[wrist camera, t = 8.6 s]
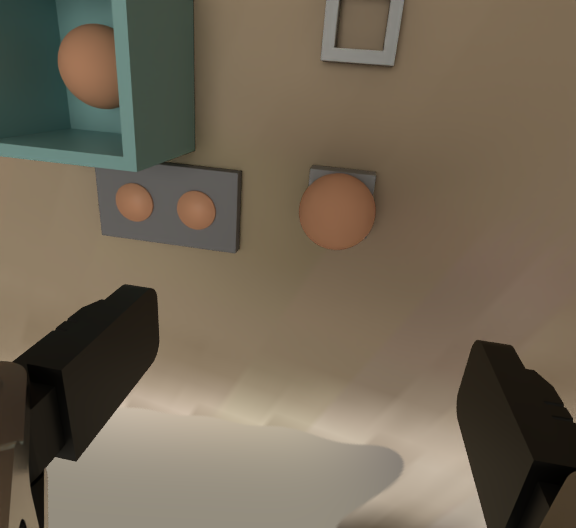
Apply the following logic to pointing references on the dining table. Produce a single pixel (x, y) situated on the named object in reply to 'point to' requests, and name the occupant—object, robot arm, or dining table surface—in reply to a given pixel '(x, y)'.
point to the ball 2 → (337, 211)
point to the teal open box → (130, 74)
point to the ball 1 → (90, 65)
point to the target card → (172, 205)
